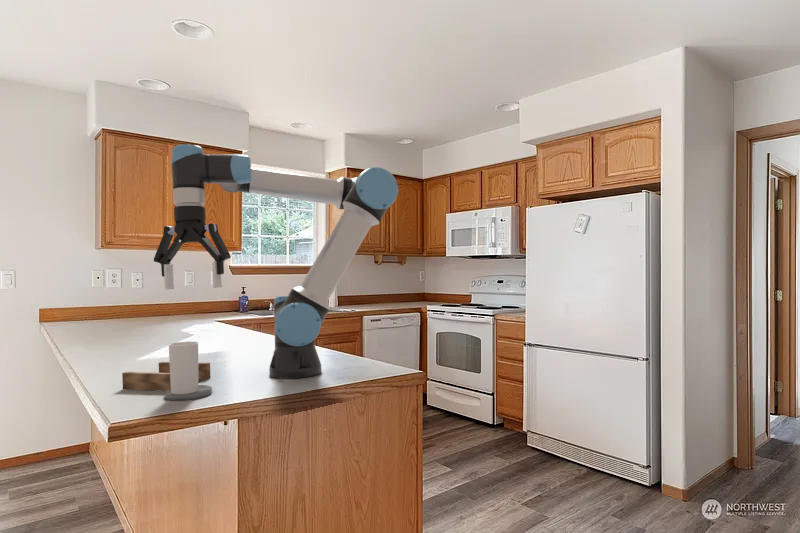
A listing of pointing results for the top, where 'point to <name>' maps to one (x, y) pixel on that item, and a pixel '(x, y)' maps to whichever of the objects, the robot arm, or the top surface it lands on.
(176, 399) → the disc
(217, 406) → the top surface
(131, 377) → the rack
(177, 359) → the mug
